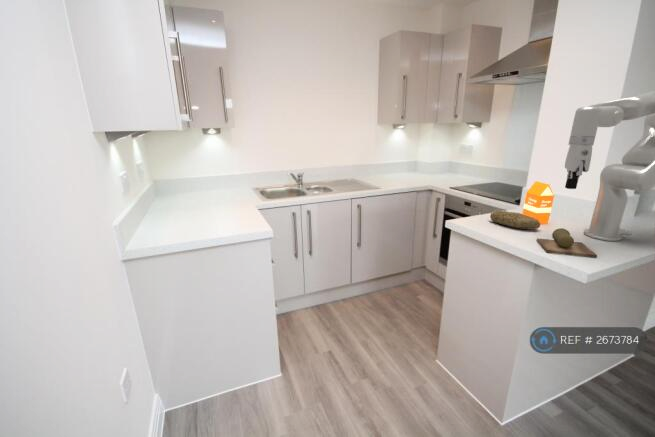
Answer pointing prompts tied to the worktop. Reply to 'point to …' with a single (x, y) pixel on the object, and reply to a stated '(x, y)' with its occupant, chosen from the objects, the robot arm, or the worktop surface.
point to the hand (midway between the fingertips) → (570, 188)
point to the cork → (563, 237)
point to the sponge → (515, 220)
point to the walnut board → (575, 249)
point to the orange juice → (539, 202)
